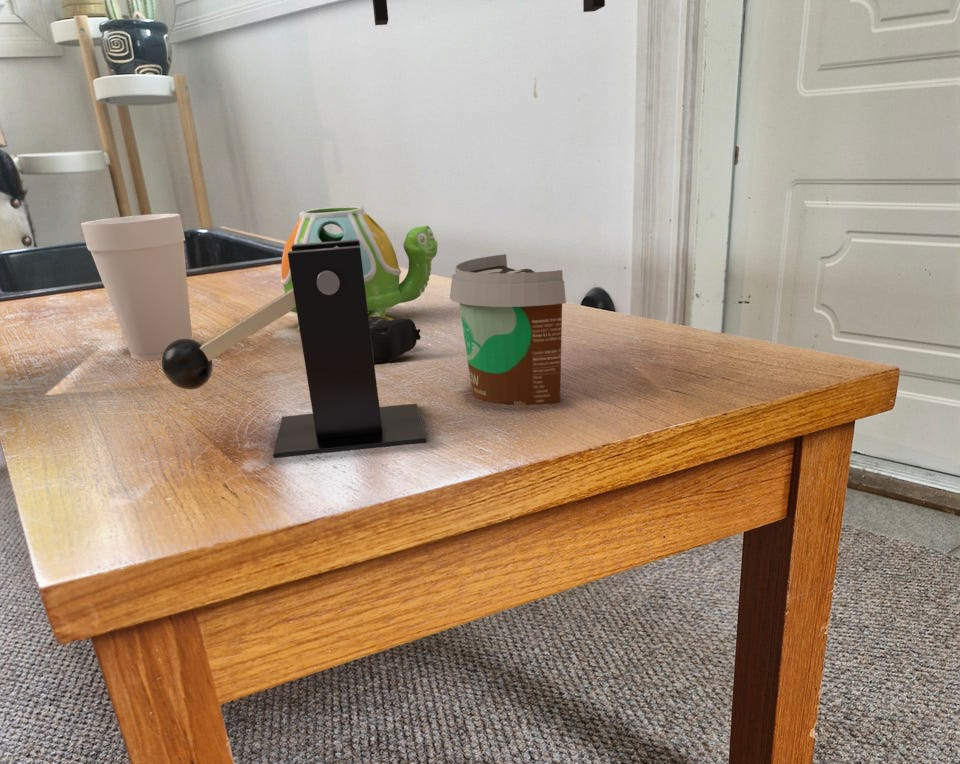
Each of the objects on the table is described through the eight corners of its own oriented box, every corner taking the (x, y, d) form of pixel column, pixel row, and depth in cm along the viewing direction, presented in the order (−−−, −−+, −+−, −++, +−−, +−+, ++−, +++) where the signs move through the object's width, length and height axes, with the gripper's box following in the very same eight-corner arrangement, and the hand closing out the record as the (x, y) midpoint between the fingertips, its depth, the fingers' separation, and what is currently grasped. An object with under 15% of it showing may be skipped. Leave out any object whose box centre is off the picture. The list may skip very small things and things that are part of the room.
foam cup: (97, 364, 92) (60, 226, 86) (147, 344, 100) (116, 216, 94) (179, 363, 90) (147, 221, 84) (223, 343, 98) (197, 212, 91)
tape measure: (391, 372, 81) (387, 329, 79) (325, 370, 83) (319, 328, 81) (422, 355, 86) (419, 314, 84) (359, 353, 89) (354, 314, 87)
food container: (439, 392, 73) (427, 261, 68) (509, 382, 75) (503, 253, 70) (487, 432, 63) (478, 281, 58) (568, 418, 65) (565, 270, 60)
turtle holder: (449, 322, 100) (440, 204, 94) (285, 337, 98) (265, 218, 92) (438, 304, 111) (429, 197, 105) (290, 318, 109) (273, 209, 103)
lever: (178, 403, 59) (146, 360, 57) (186, 391, 61) (156, 350, 60) (361, 291, 57) (333, 243, 55) (360, 284, 59) (334, 238, 58)
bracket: (275, 471, 59) (237, 261, 52) (284, 432, 66) (251, 245, 60) (427, 455, 59) (407, 246, 53) (418, 418, 67) (400, 232, 61)
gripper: (209, -526, 42) (287, 21, 53) (725, -534, 44) (699, -5, 54) (228, -437, 48) (294, 34, 59) (676, -447, 50) (662, 10, 61)
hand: (488, 16), depth 57 cm, fingers open, 13 cm apart
